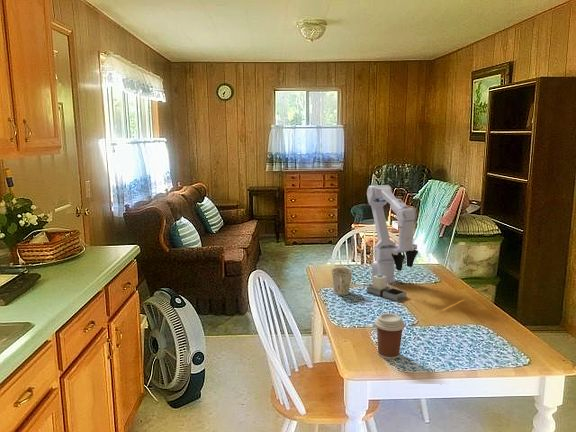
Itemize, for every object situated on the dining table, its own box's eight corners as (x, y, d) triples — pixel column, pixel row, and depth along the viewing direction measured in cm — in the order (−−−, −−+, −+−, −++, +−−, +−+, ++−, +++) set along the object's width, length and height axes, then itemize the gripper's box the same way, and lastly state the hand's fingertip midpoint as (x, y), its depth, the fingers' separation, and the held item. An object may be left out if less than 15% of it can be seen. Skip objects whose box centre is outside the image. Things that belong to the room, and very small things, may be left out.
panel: (365, 293, 203) (365, 287, 202) (377, 289, 209) (377, 282, 208) (395, 303, 192) (395, 296, 191) (407, 298, 198) (408, 291, 197)
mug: (351, 290, 207) (351, 268, 205) (352, 300, 195) (352, 277, 193) (331, 289, 208) (331, 267, 206) (331, 300, 195) (331, 276, 194)
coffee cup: (399, 347, 154) (401, 311, 151) (407, 361, 145) (409, 323, 142) (370, 347, 153) (372, 311, 151) (376, 361, 144) (378, 323, 142)
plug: (372, 292, 203) (372, 274, 202) (378, 290, 206) (378, 272, 204) (380, 294, 200) (380, 276, 199) (385, 292, 203) (386, 274, 201)
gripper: (403, 241, 193) (402, 273, 196) (423, 235, 203) (422, 267, 205) (389, 238, 198) (387, 270, 201) (409, 233, 208) (408, 263, 210)
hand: (404, 268), depth 203 cm, fingers open, 7 cm apart
